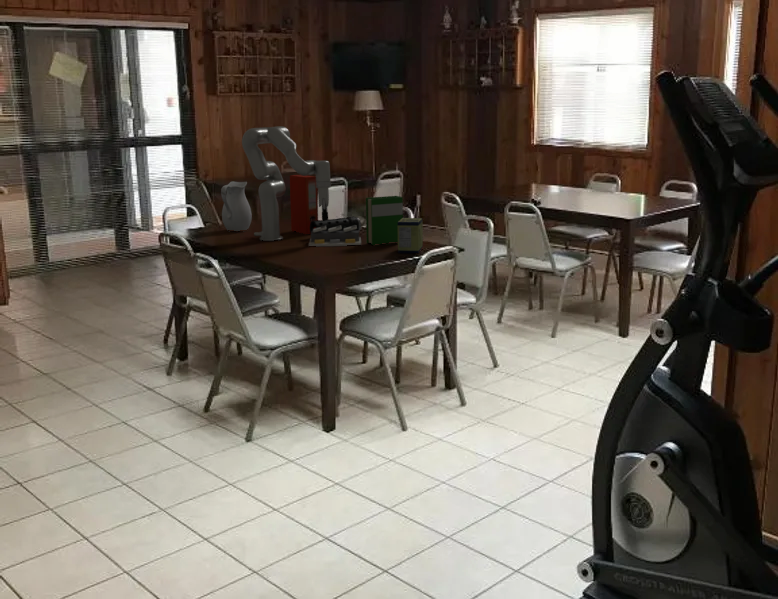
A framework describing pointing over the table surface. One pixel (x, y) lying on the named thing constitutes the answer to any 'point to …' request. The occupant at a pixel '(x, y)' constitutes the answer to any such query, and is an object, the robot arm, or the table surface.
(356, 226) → the switch right
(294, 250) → the table surface
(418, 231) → the protein box
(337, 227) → the switch middle
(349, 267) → the table surface
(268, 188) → the robot arm
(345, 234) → the panel
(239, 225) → the pitcher
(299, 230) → the file binder
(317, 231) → the switch left
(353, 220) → the muzzle brake
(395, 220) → the hardback book
